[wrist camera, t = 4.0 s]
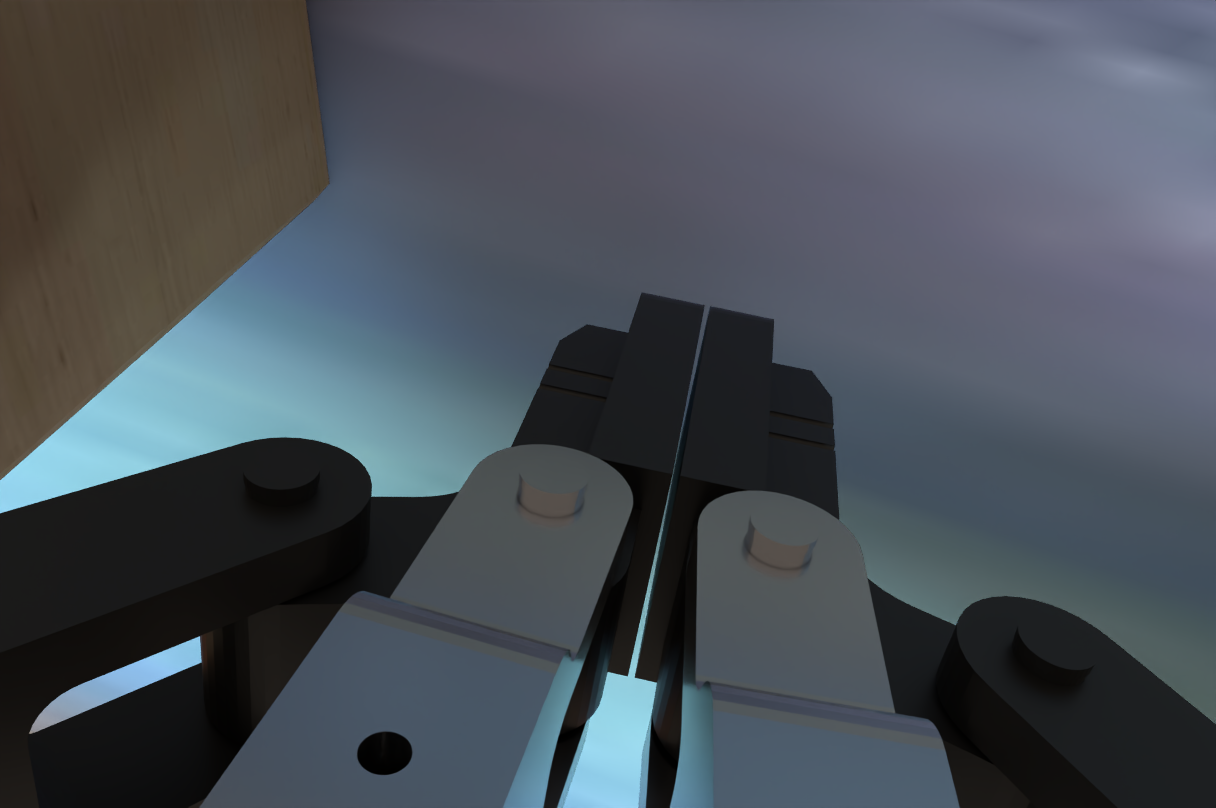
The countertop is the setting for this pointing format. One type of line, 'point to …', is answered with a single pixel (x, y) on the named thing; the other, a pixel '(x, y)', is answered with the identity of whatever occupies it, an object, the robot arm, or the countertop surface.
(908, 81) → the countertop surface
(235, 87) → the decorative block
